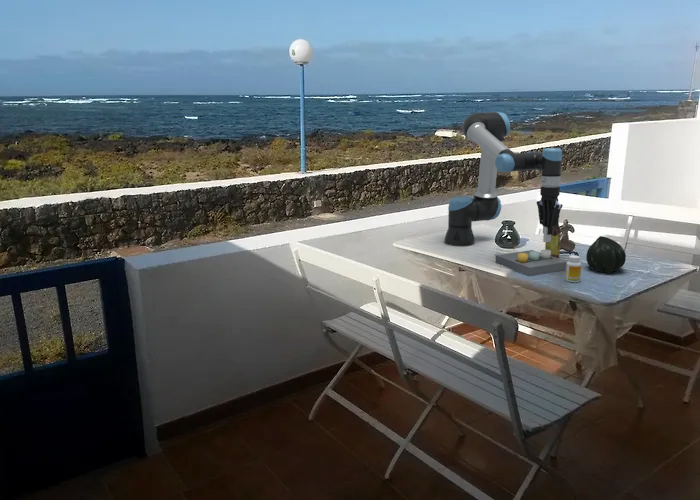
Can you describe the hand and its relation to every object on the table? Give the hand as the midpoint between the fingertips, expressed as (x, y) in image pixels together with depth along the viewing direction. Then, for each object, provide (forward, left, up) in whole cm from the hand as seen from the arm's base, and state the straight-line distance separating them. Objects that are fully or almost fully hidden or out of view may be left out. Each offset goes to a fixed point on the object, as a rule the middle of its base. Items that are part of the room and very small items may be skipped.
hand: (546, 241), depth 224 cm
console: (-2, -6, -11) cm, 13 cm away
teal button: (0, -6, -8) cm, 10 cm away
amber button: (0, -12, -8) cm, 14 cm away
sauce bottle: (-9, +12, -11) cm, 19 cm away
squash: (+16, +17, -11) cm, 26 cm away
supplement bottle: (+21, -5, -11) cm, 24 cm away
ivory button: (0, 0, -8) cm, 8 cm away
